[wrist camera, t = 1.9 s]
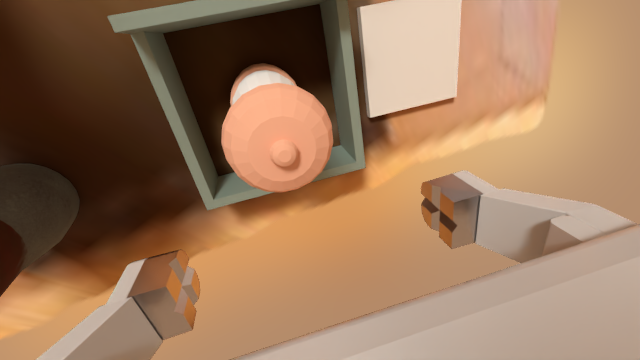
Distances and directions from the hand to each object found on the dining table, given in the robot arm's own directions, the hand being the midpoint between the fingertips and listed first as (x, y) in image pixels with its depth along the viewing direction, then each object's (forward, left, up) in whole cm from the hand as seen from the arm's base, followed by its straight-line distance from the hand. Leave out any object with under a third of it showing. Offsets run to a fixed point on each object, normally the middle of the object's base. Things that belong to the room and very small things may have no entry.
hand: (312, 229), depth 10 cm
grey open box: (0, 0, -26) cm, 26 cm away
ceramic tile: (+18, +1, -26) cm, 32 cm away
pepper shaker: (0, 0, -26) cm, 26 cm away
